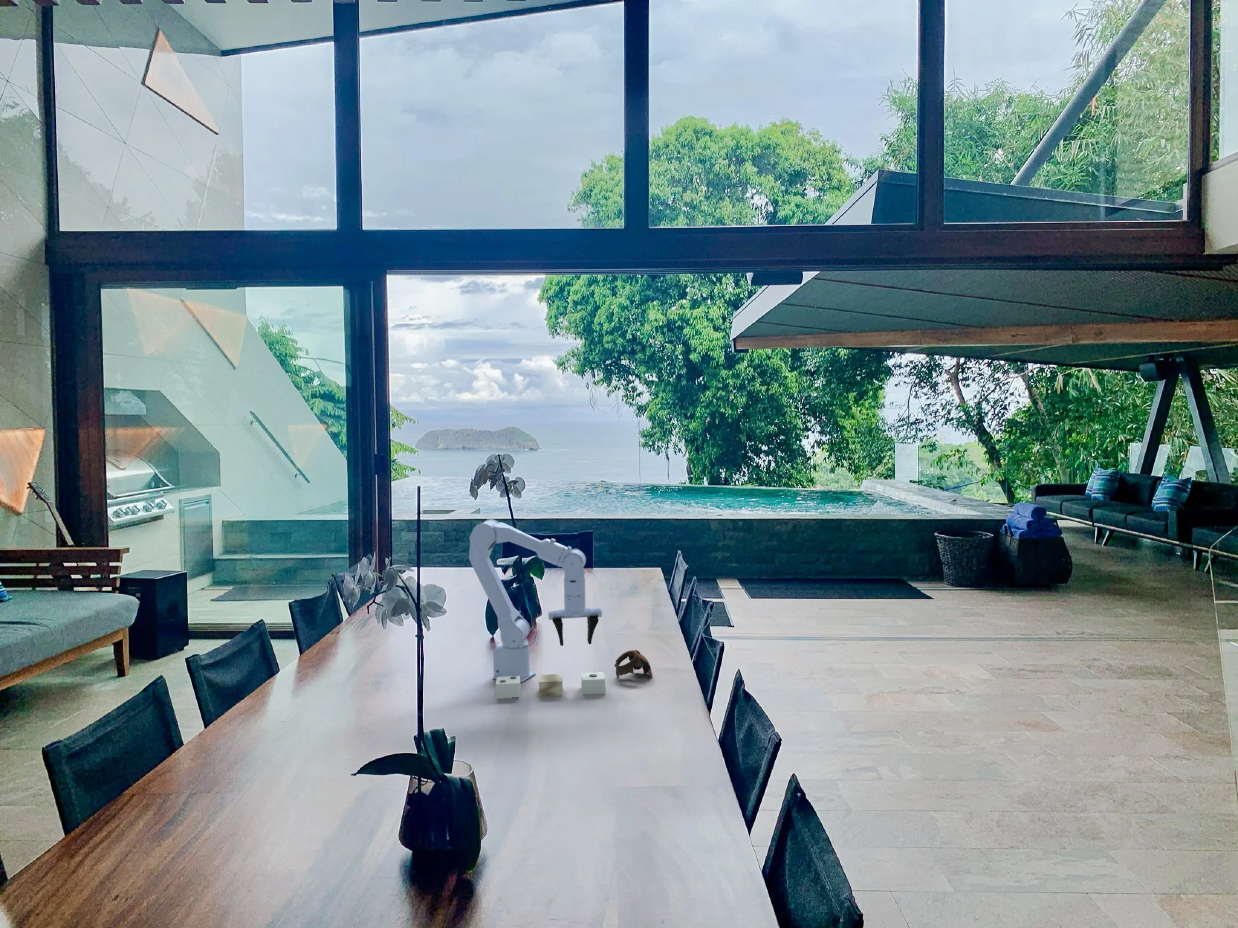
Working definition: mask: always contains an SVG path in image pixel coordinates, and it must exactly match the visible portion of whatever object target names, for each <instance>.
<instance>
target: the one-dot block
mask: <svg viewBox="0 0 1238 928" xmlns="http://www.w3.org/2000/svg"><path fill="white" fill-rule="evenodd" d="M580 674H581V675H580V676H581V678H580V681H581V683H580V684H581V694H587V695H602V694H603V693H606V692H607V691H606V676H605V672H604V671H599V672H598V671H597V672H581V673H580ZM603 695H604V694H603Z"/></svg>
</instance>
